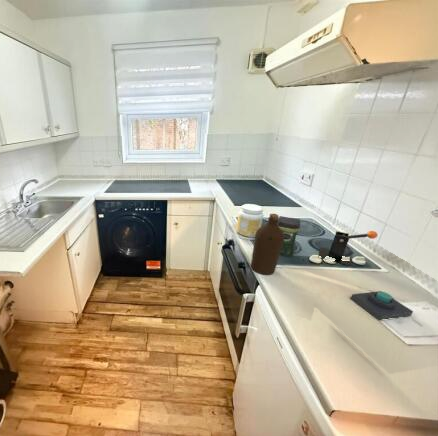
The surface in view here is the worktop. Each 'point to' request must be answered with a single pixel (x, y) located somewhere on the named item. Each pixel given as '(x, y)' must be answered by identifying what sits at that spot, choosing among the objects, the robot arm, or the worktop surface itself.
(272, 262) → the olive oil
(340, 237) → the switch bracket
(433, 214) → the robot arm
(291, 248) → the coffee jar
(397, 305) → the button housing
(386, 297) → the button
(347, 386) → the worktop surface
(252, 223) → the supplement tub
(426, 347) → the worktop surface
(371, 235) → the switch
